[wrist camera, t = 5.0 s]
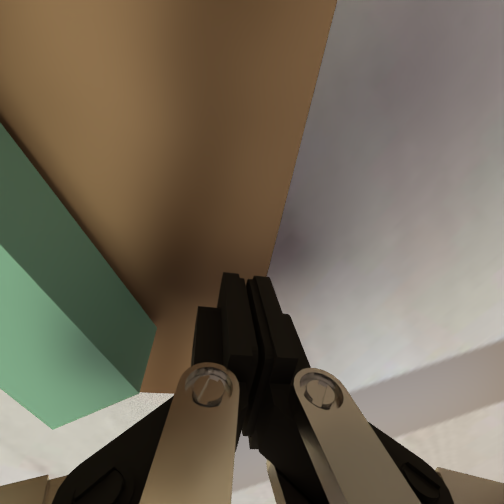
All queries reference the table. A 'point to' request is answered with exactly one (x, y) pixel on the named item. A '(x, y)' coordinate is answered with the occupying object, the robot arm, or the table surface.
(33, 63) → the stool seat
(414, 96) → the table surface
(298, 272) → the table surface
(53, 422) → the folding leg
